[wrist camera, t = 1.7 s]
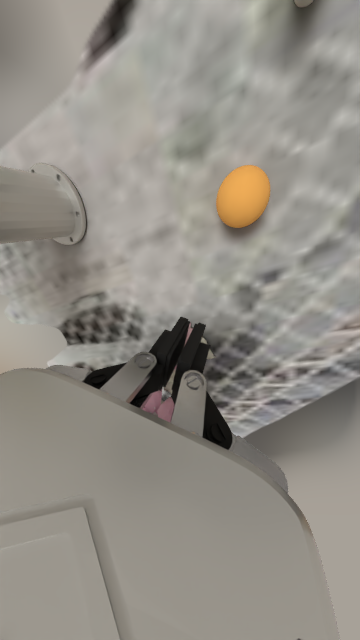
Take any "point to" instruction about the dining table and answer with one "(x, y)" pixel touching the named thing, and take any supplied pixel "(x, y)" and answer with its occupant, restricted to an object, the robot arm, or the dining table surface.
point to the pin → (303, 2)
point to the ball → (243, 196)
